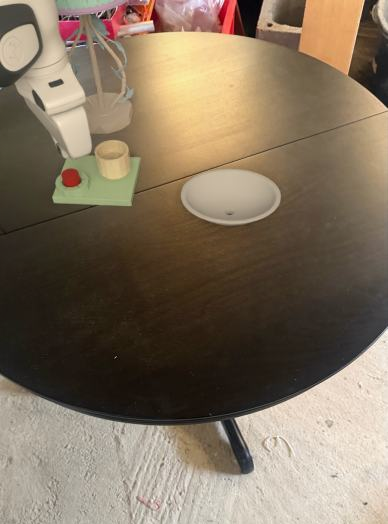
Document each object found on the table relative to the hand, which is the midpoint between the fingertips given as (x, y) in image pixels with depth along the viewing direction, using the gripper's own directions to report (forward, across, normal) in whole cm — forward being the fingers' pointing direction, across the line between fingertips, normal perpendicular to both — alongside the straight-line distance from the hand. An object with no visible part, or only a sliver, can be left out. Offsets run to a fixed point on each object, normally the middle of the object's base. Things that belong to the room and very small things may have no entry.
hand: (64, 153), depth 84 cm
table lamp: (+9, -20, +16) cm, 27 cm away
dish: (+9, +22, +21) cm, 31 cm away
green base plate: (+9, 0, +5) cm, 10 cm away
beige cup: (+7, 0, +9) cm, 11 cm away
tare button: (+6, 0, 0) cm, 6 cm away
